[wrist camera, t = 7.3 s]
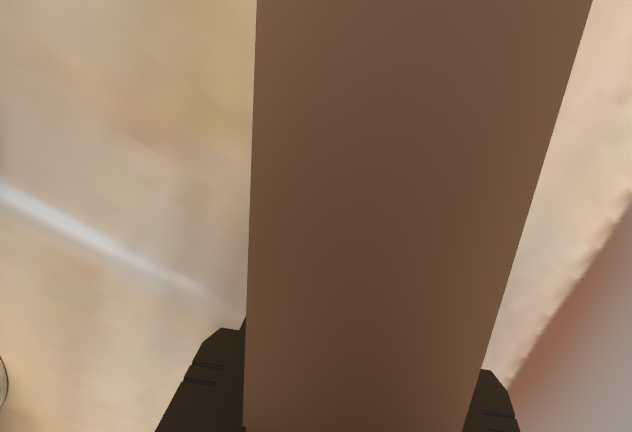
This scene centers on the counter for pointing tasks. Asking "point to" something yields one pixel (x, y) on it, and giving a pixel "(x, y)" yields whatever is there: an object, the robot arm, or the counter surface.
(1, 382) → the coffee can
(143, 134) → the counter surface
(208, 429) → the robot arm
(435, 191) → the rail
